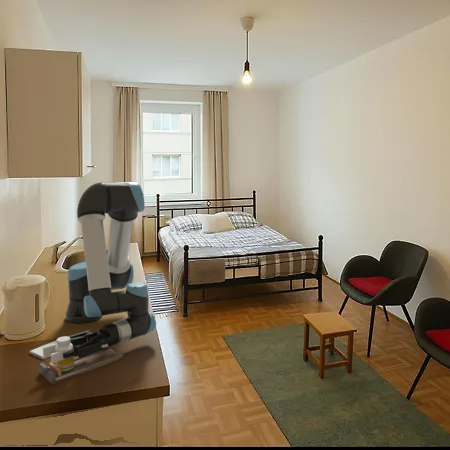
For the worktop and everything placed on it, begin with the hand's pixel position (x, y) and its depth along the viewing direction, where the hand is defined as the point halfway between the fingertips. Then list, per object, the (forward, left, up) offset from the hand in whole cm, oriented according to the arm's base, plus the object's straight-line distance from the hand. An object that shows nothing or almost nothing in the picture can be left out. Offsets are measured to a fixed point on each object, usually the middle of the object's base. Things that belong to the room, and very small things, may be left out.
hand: (47, 355), depth 124 cm
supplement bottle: (0, +5, -6) cm, 8 cm away
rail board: (0, +11, -8) cm, 14 cm away
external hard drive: (-19, +9, -8) cm, 22 cm away
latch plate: (0, +2, -7) cm, 7 cm away
